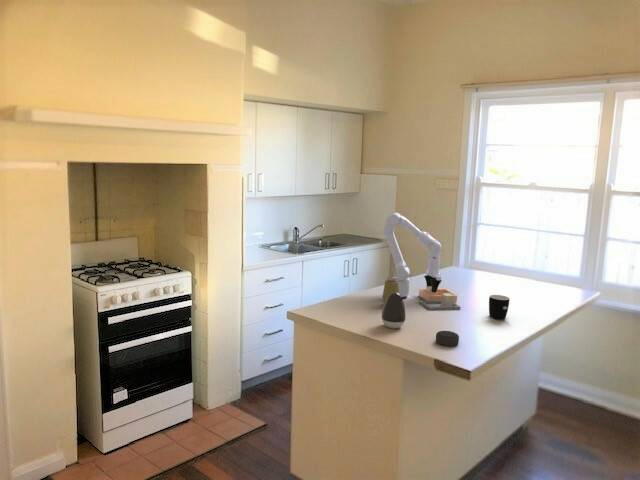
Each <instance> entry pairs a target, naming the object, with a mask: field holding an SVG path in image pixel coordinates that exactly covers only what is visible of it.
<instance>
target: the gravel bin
mask: <svg viewBox="0 0 640 480" xmlns="http://www.w3.org/2000/svg"><path fill="white" fill-rule="evenodd" d="M442 293H450V294H452V295H454V303H457V302H458V301H457V300H458V295H457V294H455V293H453V292H452V291H450V290H448V289H447V288H438V293H437V295H431V296H430V295H428V294H427V293H426V288H418V297H420V298H422V299H423V301H441V299H442Z"/></svg>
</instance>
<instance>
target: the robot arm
mask: <svg viewBox="0 0 640 480" xmlns="http://www.w3.org/2000/svg"><path fill="white" fill-rule="evenodd" d="M398 226H399V227H402V228H405V229H407V230H408V231H410V232H411V234H413V235H415V236H416V237H417V238H416V239H417V241H418V242H419V243H420V244H422V245H423V246H424V247H426V248H427V249H428V251H429V256H428V265H427V270H425V275H424V276H423V278H424V279H425V281H426V282H425V284H426V286H432V292H437V289H439V285H441V283H442V277H441V275H442V274H441V273H440V266H441V251H442V244H441V243H440V241H439V240H437V239H436V238H434V237H432V236H431V235H430V233H429V231H427V232H426V231H421V230H420V229H419V228H418V227H417V226H416V225H414V224H413V223H412V222H411V221H410V220H409V219H408V218H406V217H405V216H404V215H401V213H399V212H392V213H390V215H388V216H387V218H386V220H385V223H384V229H383V234H384V237H385V240H386V242H387V246H388V249H389V251H390V254H391V256H392V259H393V260H392V261H393V263H394V265H395V267H394V268H395V270H396V271H395V272H396V273H395V276H396V277H397V282H398V285H399V294H400V295H401V297H404V296H407V298H411V296H410V282H411V281H410V278H409V276H410V274H411V269H410V268H409V267H408V265H407V263H406V261H405V260H404V257H403V254H402V251H401V249H400V247H399V243H398V241H397V237H396V235H395V230H396V228H397V227H398Z"/></svg>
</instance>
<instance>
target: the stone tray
mask: <svg viewBox="0 0 640 480" xmlns="http://www.w3.org/2000/svg"><path fill="white" fill-rule="evenodd" d="M419 304H420V305H422V306H423V307H424V308H425V309H427V310H428V311H447V310H448V311H455V310H456V311H459V310H461V306H460V305H459V304H457V303H456V302H454V303H453V307H443V306H441V301H426V300H420V301H419Z"/></svg>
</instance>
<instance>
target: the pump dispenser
mask: <svg viewBox="0 0 640 480" xmlns="http://www.w3.org/2000/svg"><path fill="white" fill-rule="evenodd" d="M407 299H408V297H407V296H404V297H401V295H400V294H399V293H397V292H393V293H391V294H390V295H389V296H388V298H387V300H386V302H385V304H384V303H383V308H382V312H381V320H382V323H383V324H384V326H385V327H387V328H388V329H395V330H396V329H399V328H401V327H403V325H404V323H405V322H406V319H407V317H406V314H407V313H406V307H405V302H404V300H407Z"/></svg>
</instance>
